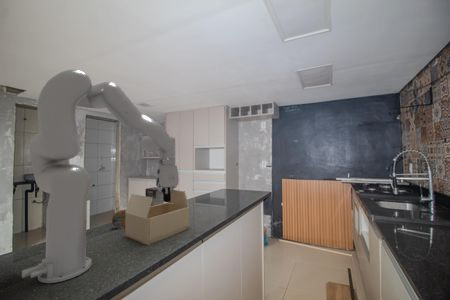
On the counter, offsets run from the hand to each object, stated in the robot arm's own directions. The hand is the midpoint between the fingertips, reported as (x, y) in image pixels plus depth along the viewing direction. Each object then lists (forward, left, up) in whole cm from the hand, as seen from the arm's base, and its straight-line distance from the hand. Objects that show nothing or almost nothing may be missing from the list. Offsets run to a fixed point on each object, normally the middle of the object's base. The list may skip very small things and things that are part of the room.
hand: (167, 201), depth 95 cm
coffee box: (+8, +21, -13) cm, 26 cm away
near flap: (-14, 0, +1) cm, 14 cm away
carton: (-5, 0, -13) cm, 14 cm away
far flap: (+5, 0, +1) cm, 5 cm away
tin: (-8, +19, -13) cm, 24 cm away
